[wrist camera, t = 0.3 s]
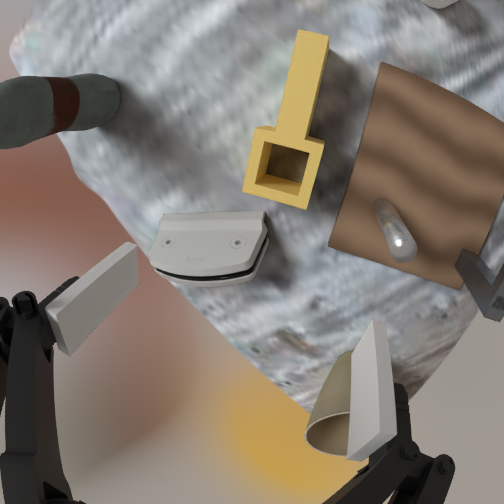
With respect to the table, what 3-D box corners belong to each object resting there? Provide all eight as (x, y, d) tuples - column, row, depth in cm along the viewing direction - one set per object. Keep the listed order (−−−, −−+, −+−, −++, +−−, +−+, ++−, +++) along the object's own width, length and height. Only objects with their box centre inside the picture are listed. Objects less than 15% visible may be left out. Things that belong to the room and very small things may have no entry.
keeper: (477, 191, 30) (528, 228, 19) (496, 202, 30) (547, 241, 18) (448, 260, 36) (481, 316, 24) (467, 267, 35) (501, 322, 24)
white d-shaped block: (267, 210, 40) (252, 266, 33) (271, 236, 43) (259, 292, 36) (161, 214, 44) (132, 261, 38) (171, 236, 47) (147, 283, 41)
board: (379, 63, 27) (381, 61, 26) (515, 134, 25) (521, 135, 23) (328, 241, 39) (328, 246, 38) (456, 284, 37) (459, 290, 35)
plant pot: (409, 365, 45) (418, 437, 32) (345, 395, 53) (339, 463, 39) (368, 317, 43) (374, 399, 29) (299, 356, 50) (283, 431, 37)
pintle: (375, 191, 35) (397, 233, 23) (392, 197, 34) (421, 242, 22) (369, 208, 36) (386, 258, 24) (385, 214, 36) (410, 266, 24)
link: (286, 39, 29) (278, 26, 23) (346, 53, 28) (349, 41, 23) (254, 180, 38) (242, 191, 33) (309, 195, 37) (306, 209, 32)
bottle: (82, 128, 41) (-74, 180, 15) (84, 77, 36) (-78, 103, 10) (122, 126, 39) (-59, 182, 13) (125, 70, 35) (-62, 83, 9)
